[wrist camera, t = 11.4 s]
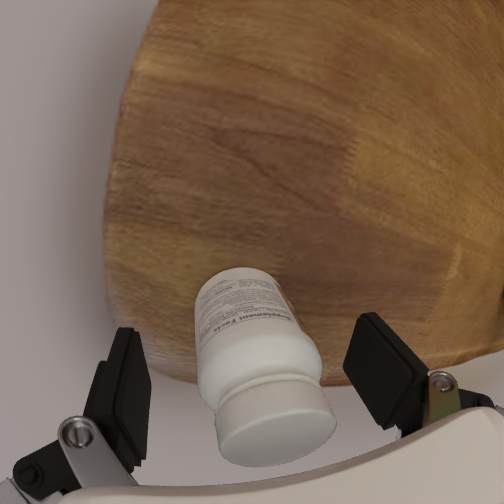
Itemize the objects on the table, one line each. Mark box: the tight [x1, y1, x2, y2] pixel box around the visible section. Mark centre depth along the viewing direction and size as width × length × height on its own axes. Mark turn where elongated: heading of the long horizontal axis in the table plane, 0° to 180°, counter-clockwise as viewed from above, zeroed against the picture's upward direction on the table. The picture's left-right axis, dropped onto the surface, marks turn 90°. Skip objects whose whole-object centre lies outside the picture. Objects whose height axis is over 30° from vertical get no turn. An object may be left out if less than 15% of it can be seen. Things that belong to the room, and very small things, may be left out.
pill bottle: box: [195, 267, 337, 467], centre depth 10 cm, size 4×4×8 cm
